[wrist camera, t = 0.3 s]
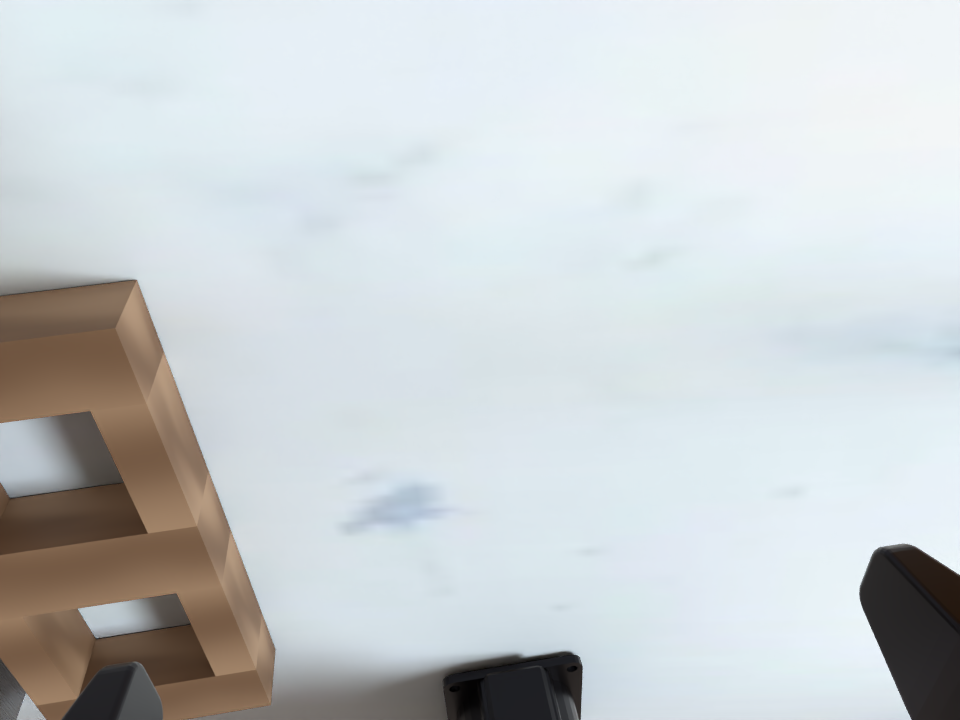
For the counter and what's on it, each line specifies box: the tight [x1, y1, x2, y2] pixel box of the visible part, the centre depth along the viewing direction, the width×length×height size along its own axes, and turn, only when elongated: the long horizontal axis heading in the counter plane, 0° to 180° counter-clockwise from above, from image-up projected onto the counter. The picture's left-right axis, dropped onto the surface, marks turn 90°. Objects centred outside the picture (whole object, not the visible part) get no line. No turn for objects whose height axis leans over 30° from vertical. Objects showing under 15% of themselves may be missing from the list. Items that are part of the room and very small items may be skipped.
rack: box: [0, 280, 275, 720], centre depth 25 cm, size 18×8×2 cm, turn 3°
